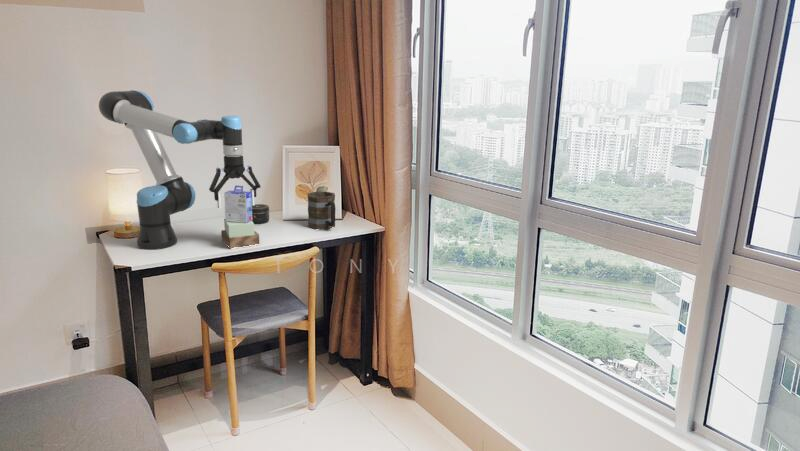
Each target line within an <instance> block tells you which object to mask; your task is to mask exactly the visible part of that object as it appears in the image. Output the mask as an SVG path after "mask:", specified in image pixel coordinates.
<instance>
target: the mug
mask: <svg viewBox="0 0 800 451" xmlns="http://www.w3.org/2000/svg"><path fill="white" fill-rule="evenodd" d="M335 200H336V194H335V192H330V191H312V192H309V193H307V201H308V202H307V215H308V217H307V218H308V221H307V222H308V223H307V227H308V229H312V230H316V229H323V230H329V229H328V228H331V229H333V228H332V227H334V228H336V227H335V226H336V208H337V207H336V204H335V202H336V201H335Z"/></svg>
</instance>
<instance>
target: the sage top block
mask: <svg viewBox="0 0 800 451" xmlns="http://www.w3.org/2000/svg"><path fill="white" fill-rule="evenodd" d="M223 222H224V224H223V225H224V230H225V231H226V233H227V234H228V236H229V238H232V237H241V236H250V235H255V234H254V231H255V224H254V223H253V222H252V221H249V222H247V223H243V222H231V221H225V218H224V219H223Z"/></svg>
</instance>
